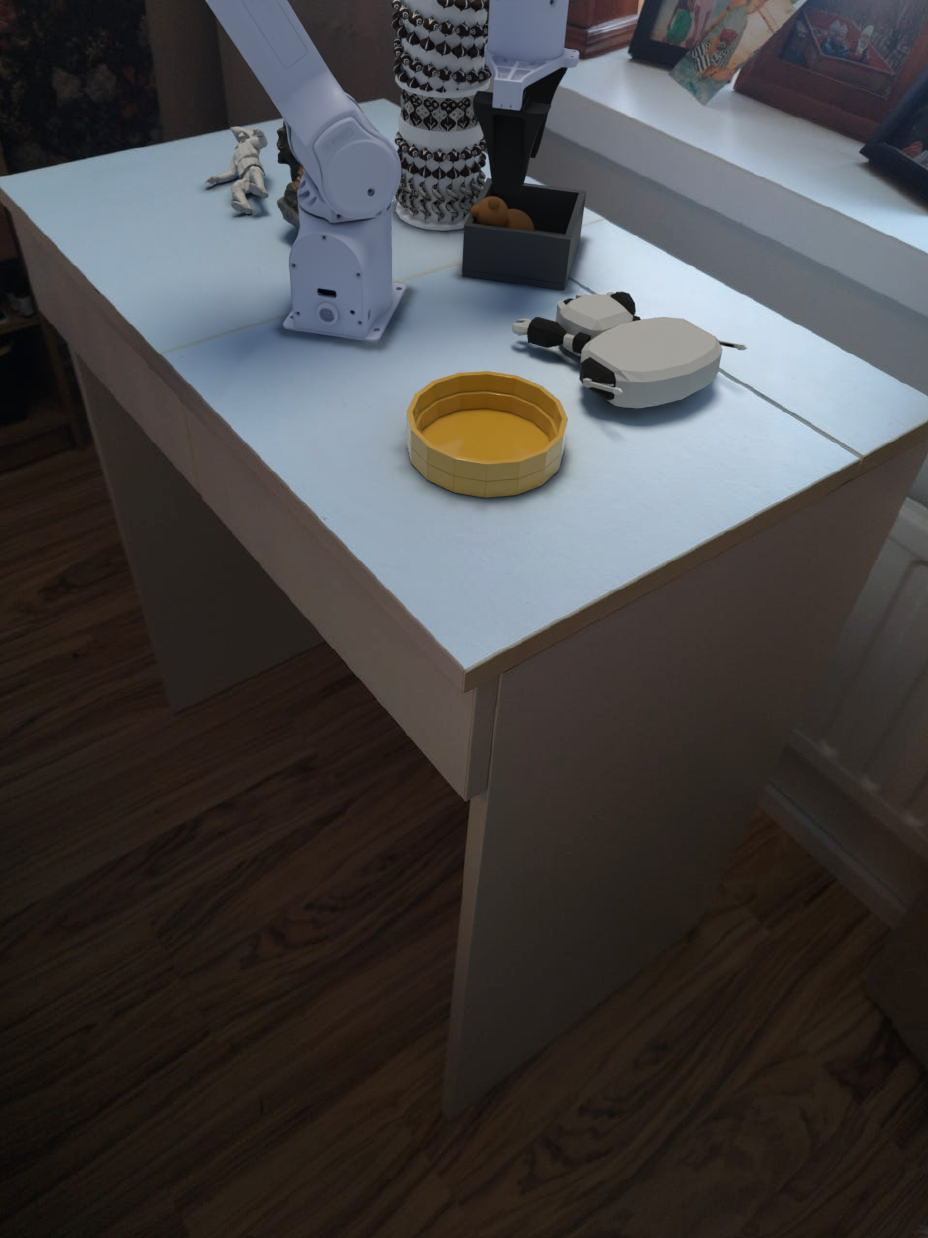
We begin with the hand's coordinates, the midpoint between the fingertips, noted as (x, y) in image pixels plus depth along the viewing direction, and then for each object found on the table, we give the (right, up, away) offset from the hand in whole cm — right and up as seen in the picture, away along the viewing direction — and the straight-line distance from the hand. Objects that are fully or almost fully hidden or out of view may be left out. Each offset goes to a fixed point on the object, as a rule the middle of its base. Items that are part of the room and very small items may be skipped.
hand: (515, 173), depth 82 cm
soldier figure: (-25, +6, +18) cm, 32 cm away
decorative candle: (-7, +3, +16) cm, 18 cm away
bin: (+1, -3, +10) cm, 11 cm away
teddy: (+1, -2, +9) cm, 10 cm away
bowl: (-3, -24, -11) cm, 27 cm away
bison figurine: (-17, -2, +10) cm, 20 cm away
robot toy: (+8, -17, -3) cm, 19 cm away
